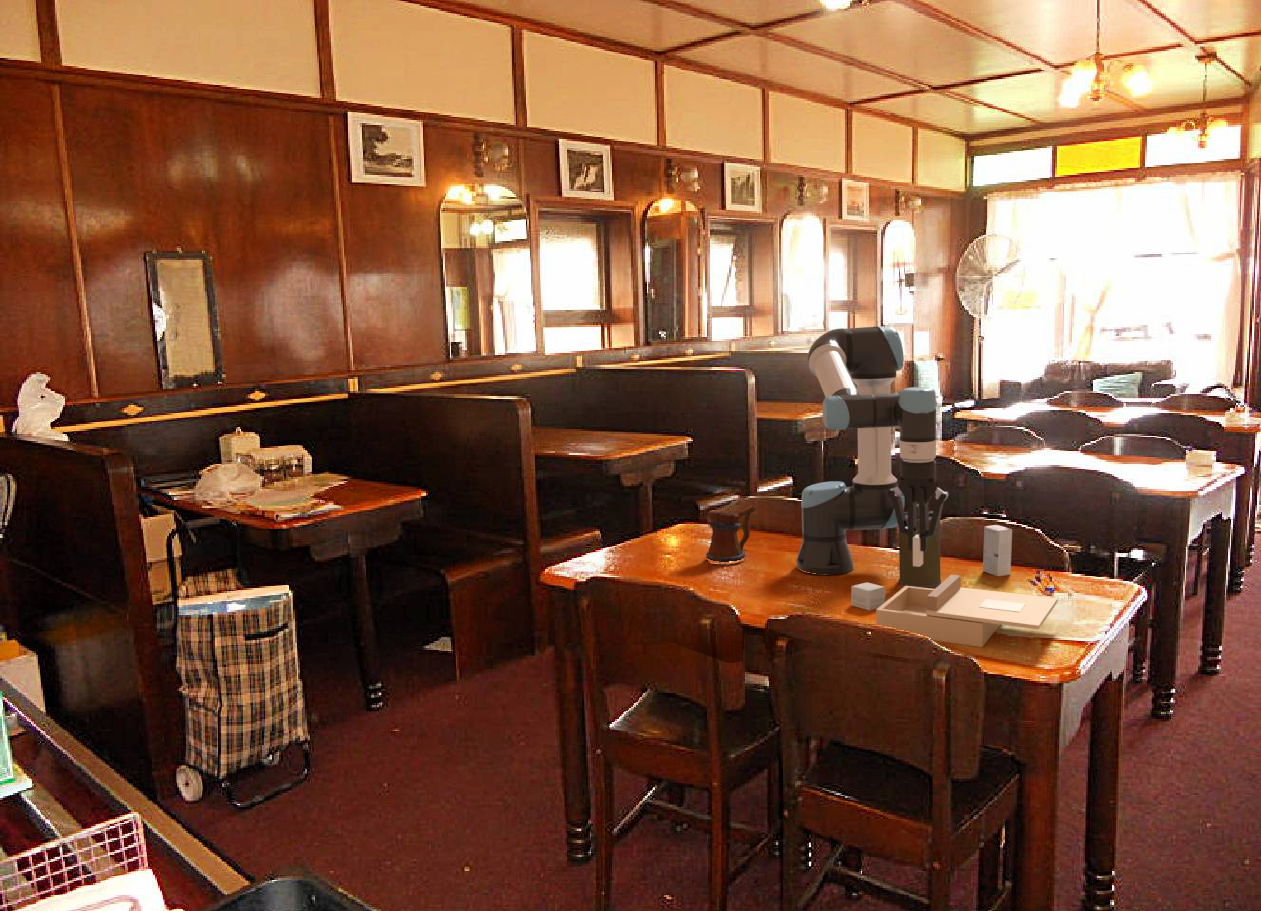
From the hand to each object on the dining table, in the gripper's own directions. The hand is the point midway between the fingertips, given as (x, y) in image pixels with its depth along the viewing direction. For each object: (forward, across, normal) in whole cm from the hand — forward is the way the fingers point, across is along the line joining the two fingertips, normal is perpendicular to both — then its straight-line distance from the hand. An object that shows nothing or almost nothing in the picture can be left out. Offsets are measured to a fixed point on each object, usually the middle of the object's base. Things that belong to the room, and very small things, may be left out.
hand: (918, 564), depth 205 cm
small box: (+14, -14, +6) cm, 20 cm away
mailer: (+13, +5, -1) cm, 14 cm away
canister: (+14, -8, +30) cm, 34 cm away
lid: (+7, +16, -1) cm, 18 cm away
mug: (+15, -63, +34) cm, 73 cm away
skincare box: (+14, +7, +46) cm, 49 cm away
